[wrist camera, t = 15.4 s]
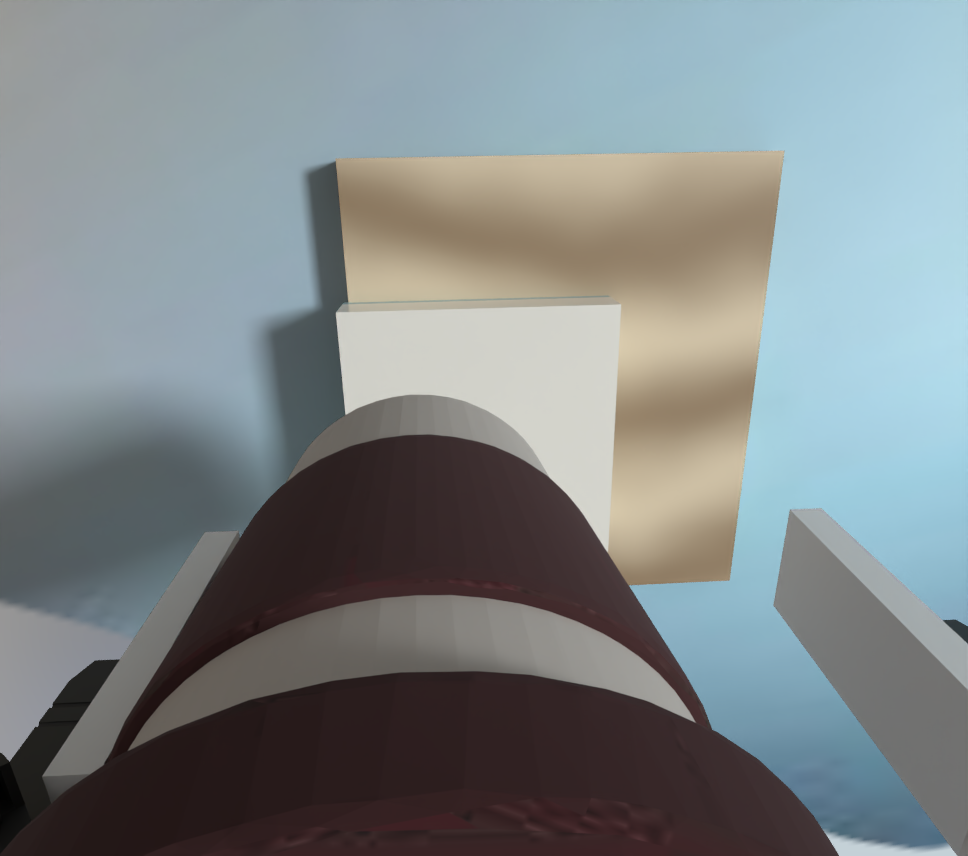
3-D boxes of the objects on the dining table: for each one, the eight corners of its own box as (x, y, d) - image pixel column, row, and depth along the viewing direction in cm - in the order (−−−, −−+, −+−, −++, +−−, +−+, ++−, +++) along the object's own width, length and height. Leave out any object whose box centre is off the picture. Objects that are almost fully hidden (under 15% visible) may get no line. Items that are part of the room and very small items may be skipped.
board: (340, 159, 24) (335, 158, 23) (769, 151, 25) (784, 150, 24) (377, 581, 31) (374, 597, 30) (719, 566, 31) (729, 580, 30)
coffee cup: (282, 676, 20) (-7, 1773, 6) (194, 365, 17) (-930, 1380, 3) (601, 627, 21) (972, 1558, 7) (584, 314, 17) (1311, 967, 3)
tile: (608, 295, 25) (343, 302, 25) (621, 304, 24) (335, 312, 23) (597, 527, 29) (365, 537, 28) (608, 551, 27) (359, 562, 27)
